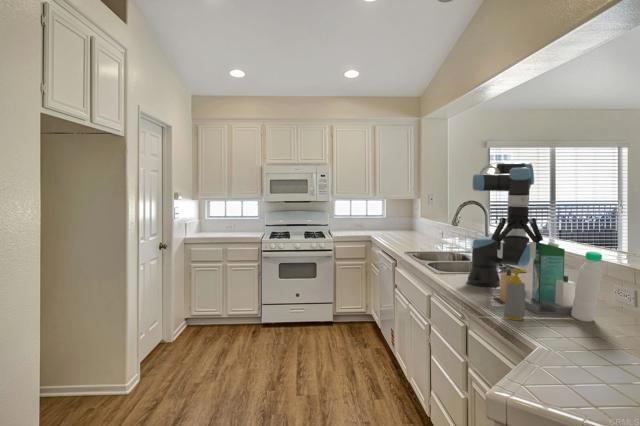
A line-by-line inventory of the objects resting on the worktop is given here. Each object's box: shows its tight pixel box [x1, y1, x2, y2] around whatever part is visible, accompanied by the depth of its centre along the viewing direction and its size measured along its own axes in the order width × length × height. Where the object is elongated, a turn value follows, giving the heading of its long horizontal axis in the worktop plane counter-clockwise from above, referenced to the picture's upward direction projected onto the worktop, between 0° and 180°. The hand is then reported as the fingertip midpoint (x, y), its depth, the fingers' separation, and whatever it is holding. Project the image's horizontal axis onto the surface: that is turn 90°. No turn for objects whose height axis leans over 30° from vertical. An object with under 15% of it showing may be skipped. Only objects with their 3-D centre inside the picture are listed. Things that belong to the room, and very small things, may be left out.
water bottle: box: [570, 251, 604, 323], centre depth 139 cm, size 7×7×25 cm
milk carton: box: [531, 241, 566, 304], centre depth 162 cm, size 9×9×25 cm
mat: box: [491, 297, 505, 306], centre depth 161 cm, size 10×10×1 cm
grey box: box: [525, 275, 576, 315], centre depth 149 cm, size 9×21×14 cm, turn 90°
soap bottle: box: [503, 268, 527, 321], centre depth 141 cm, size 7×7×18 cm
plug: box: [499, 269, 515, 302], centre depth 161 cm, size 4×4×13 cm
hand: (516, 257), depth 159 cm, fingers open, 13 cm apart
